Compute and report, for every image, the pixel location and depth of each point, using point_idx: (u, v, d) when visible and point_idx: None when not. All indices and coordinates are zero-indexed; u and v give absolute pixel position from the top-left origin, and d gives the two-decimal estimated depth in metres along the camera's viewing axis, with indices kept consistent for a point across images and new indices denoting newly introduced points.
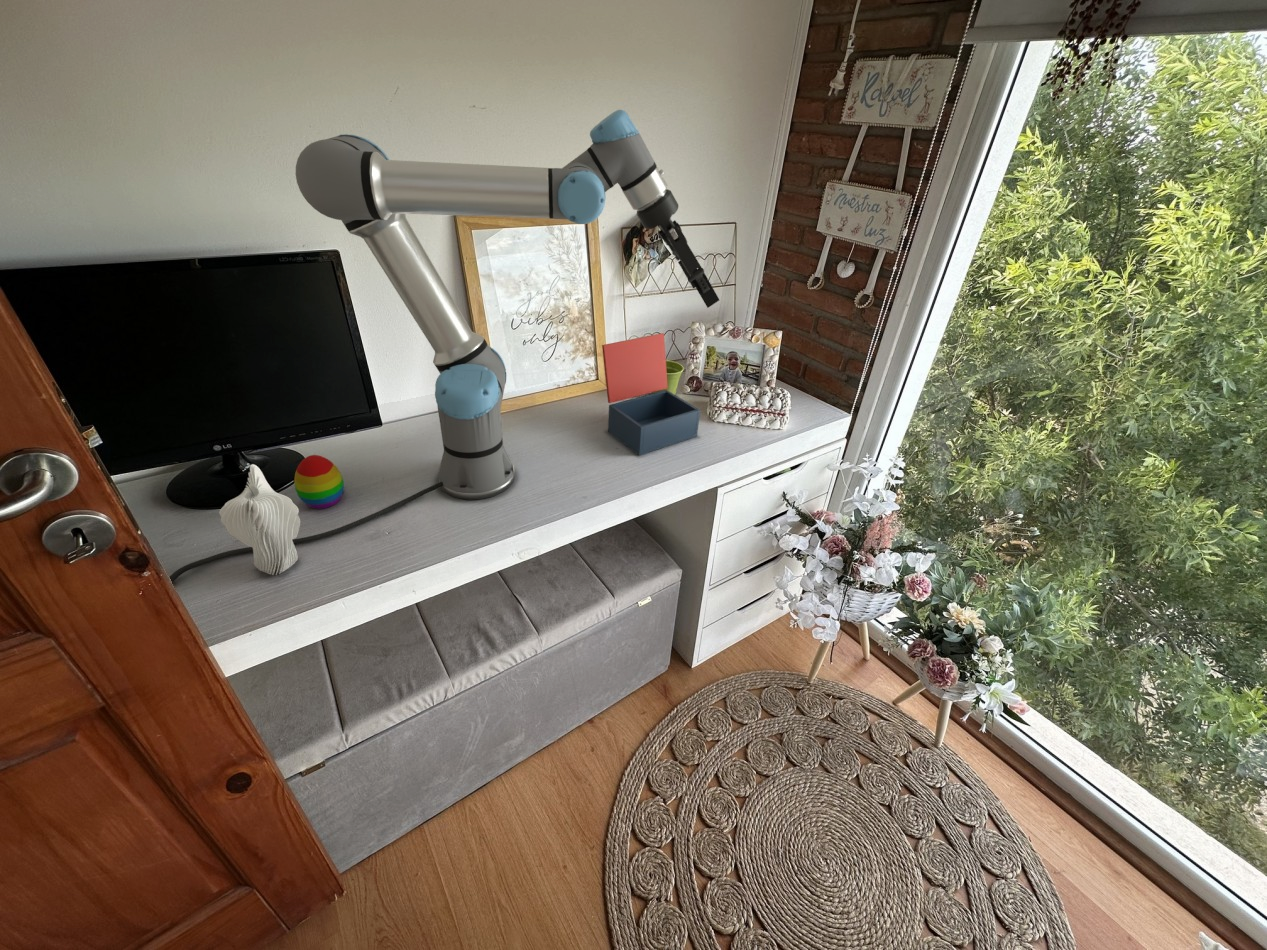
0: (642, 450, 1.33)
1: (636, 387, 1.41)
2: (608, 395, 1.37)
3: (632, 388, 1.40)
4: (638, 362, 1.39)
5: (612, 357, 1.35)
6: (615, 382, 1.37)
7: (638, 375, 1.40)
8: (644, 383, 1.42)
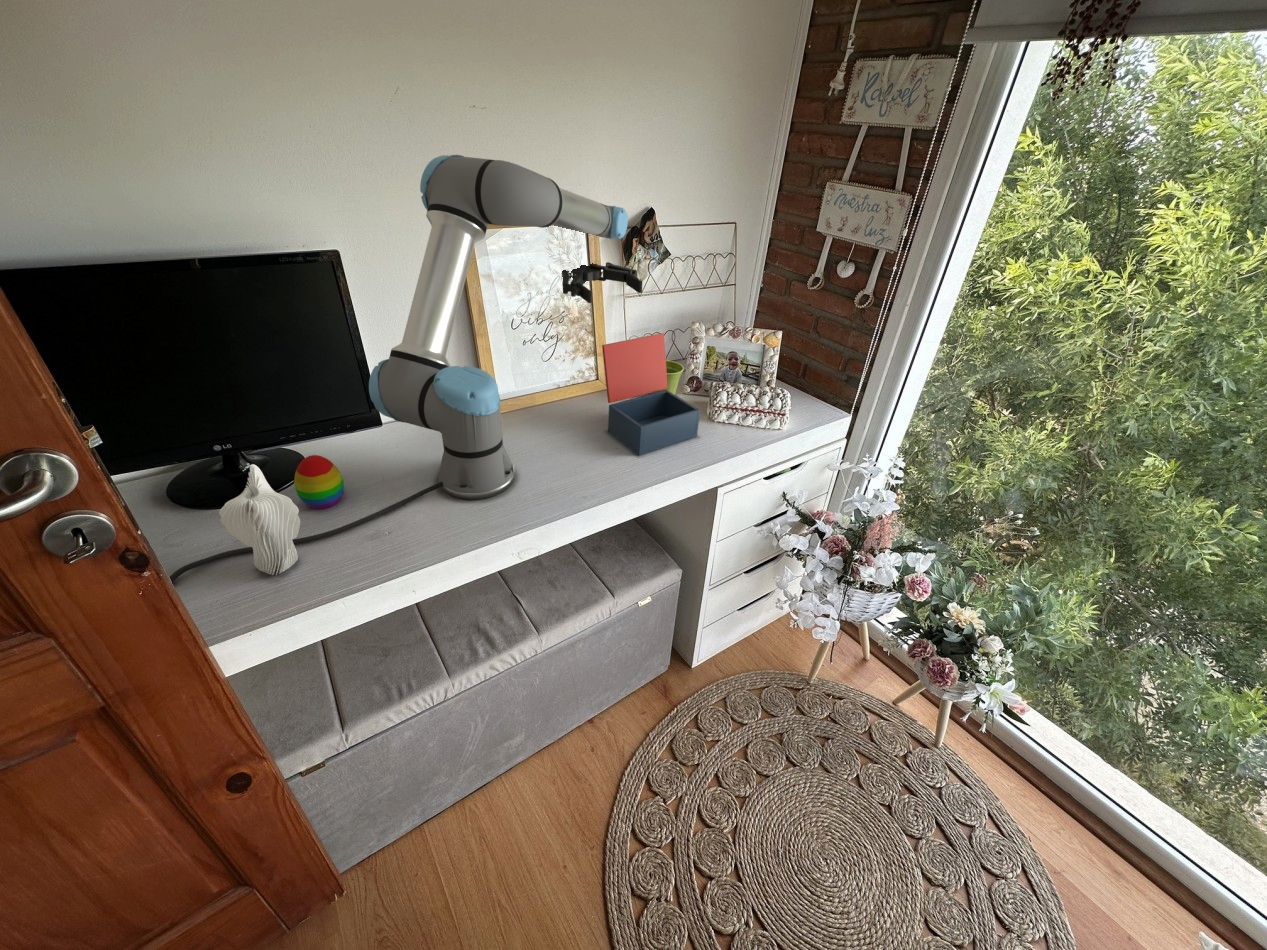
0: (642, 450, 1.33)
1: (636, 387, 1.41)
2: (608, 395, 1.37)
3: (632, 388, 1.40)
4: (638, 362, 1.39)
5: (612, 357, 1.35)
6: (615, 382, 1.37)
7: (638, 375, 1.40)
8: (644, 383, 1.42)
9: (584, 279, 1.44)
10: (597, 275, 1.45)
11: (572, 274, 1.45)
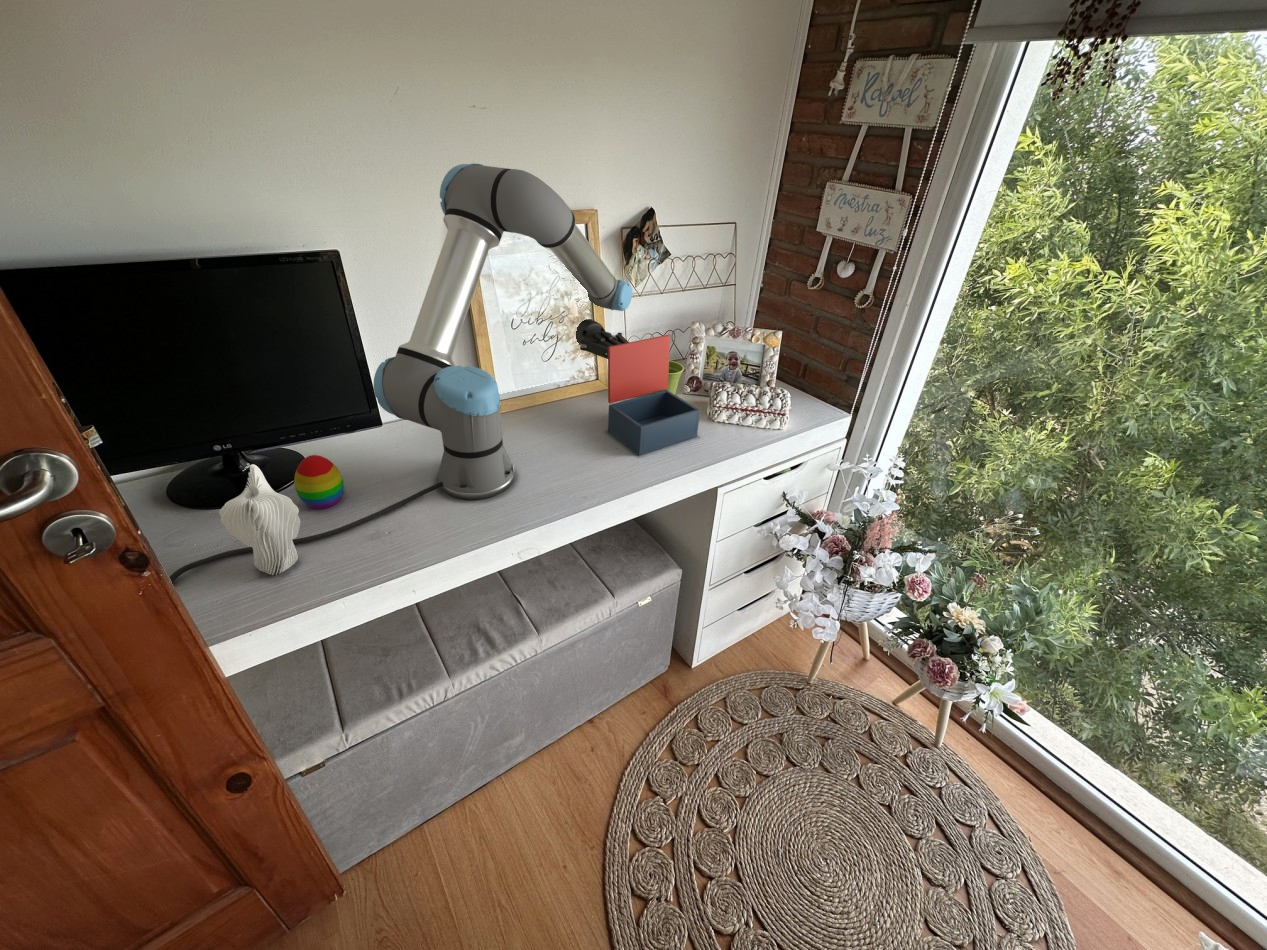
0: (642, 450, 1.33)
1: (637, 388, 1.41)
2: (609, 395, 1.37)
3: (633, 389, 1.40)
4: (642, 363, 1.38)
5: (617, 359, 1.33)
6: (617, 383, 1.36)
7: (640, 376, 1.39)
8: (645, 384, 1.42)
9: None
10: (609, 342, 1.49)
11: None
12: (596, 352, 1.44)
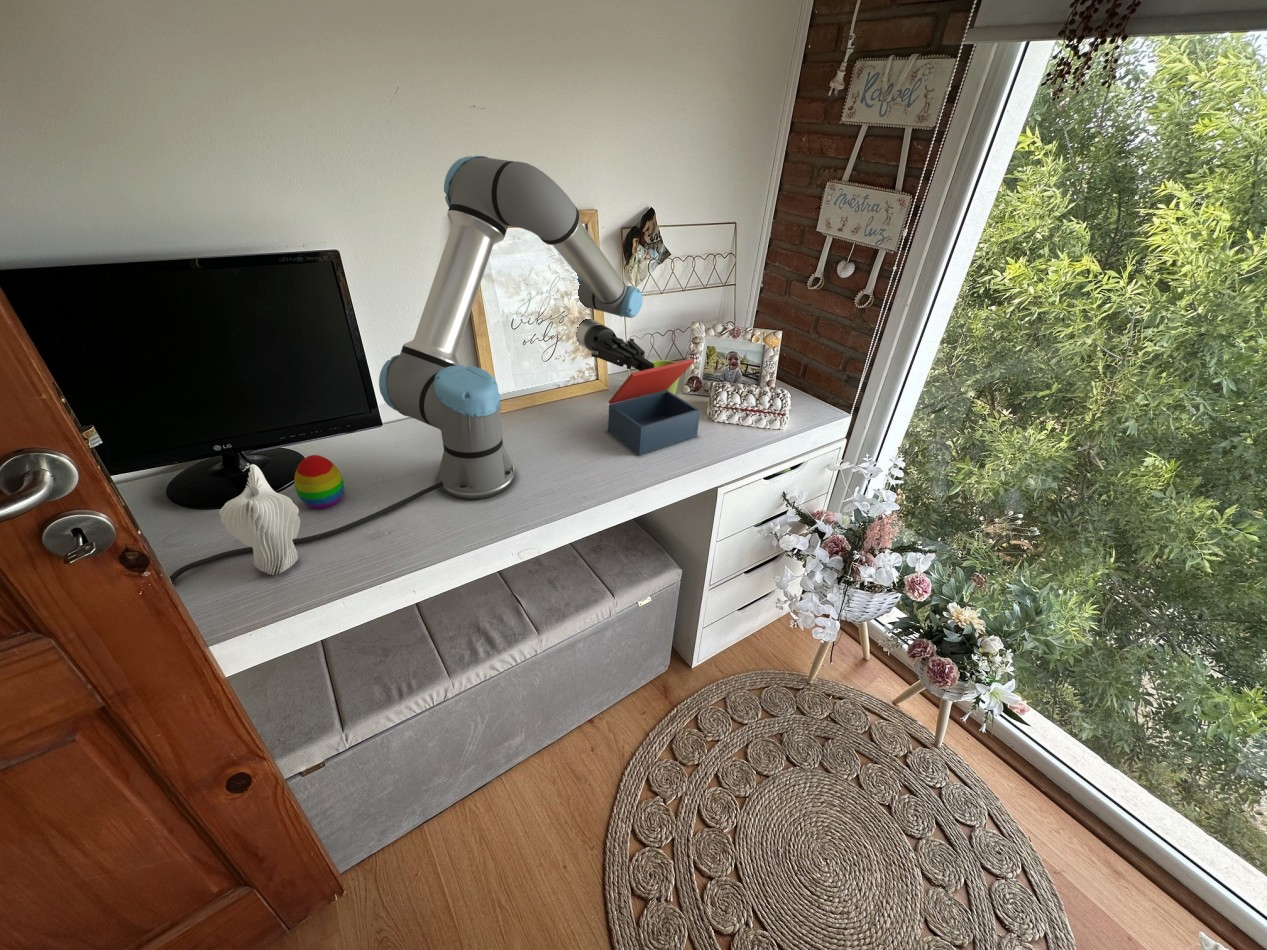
0: (642, 450, 1.33)
1: (640, 393, 1.40)
2: (612, 399, 1.36)
3: (636, 394, 1.39)
4: (655, 380, 1.36)
5: (634, 381, 1.30)
6: (624, 393, 1.35)
7: (648, 386, 1.38)
8: (649, 390, 1.41)
9: None
10: None
11: None
12: (608, 359, 1.41)
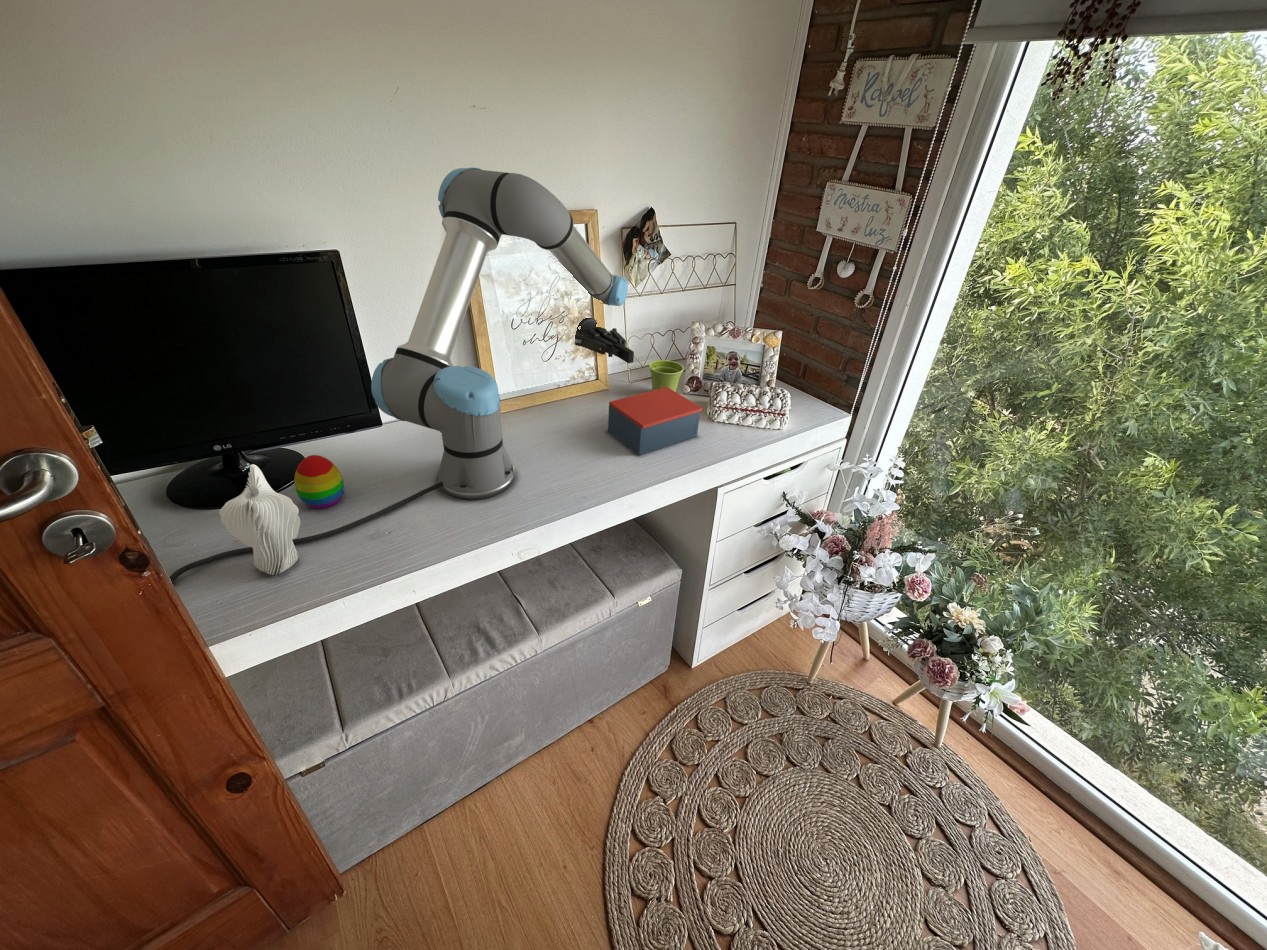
0: (642, 450, 1.33)
1: None
2: (613, 406, 1.37)
3: None
4: None
5: None
6: None
7: None
8: None
9: None
10: (603, 338, 1.50)
11: None
12: (590, 347, 1.46)
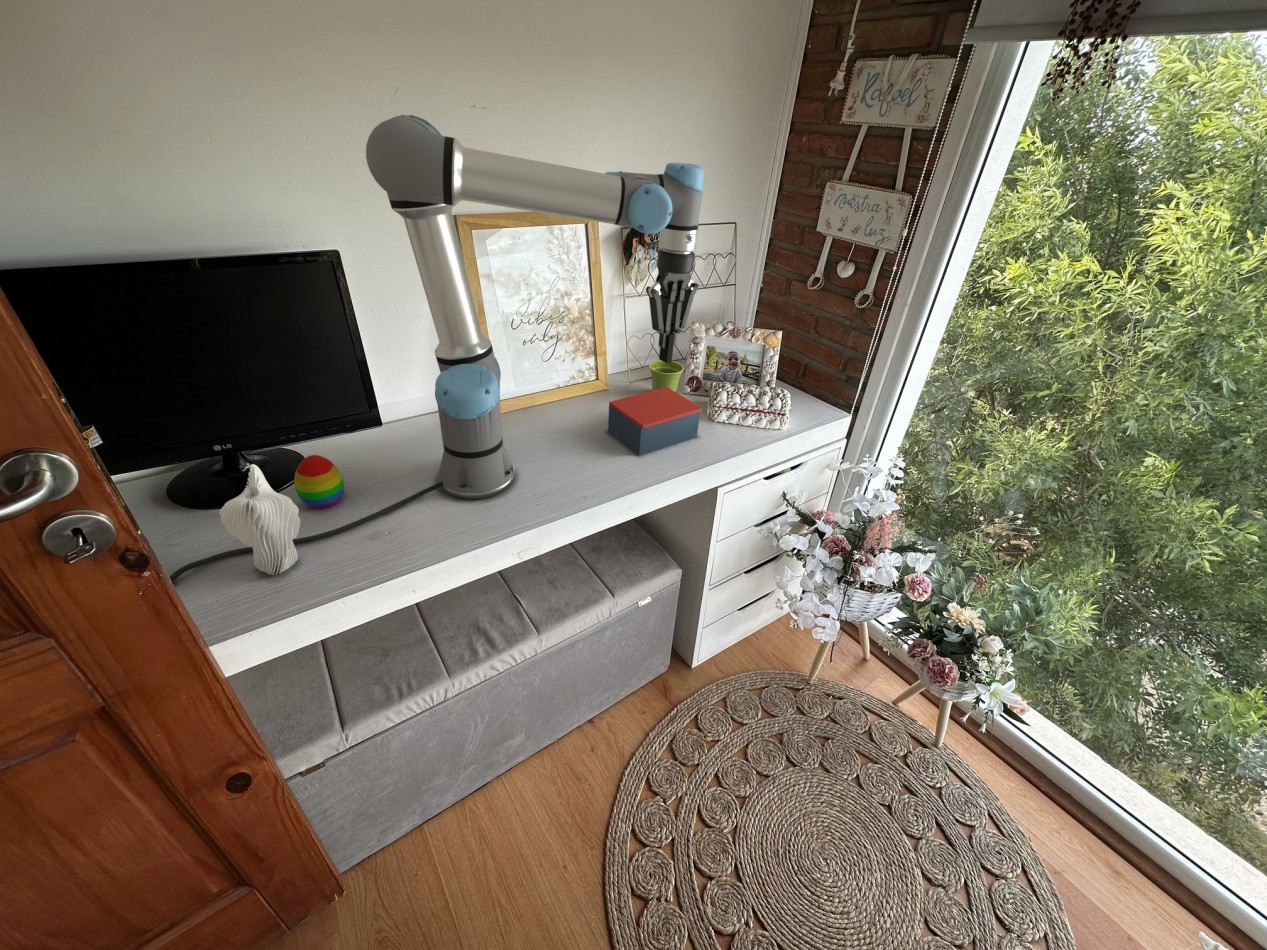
0: (642, 450, 1.33)
1: None
2: (613, 406, 1.37)
3: None
4: None
5: None
6: None
7: None
8: None
9: None
10: None
11: None
12: None
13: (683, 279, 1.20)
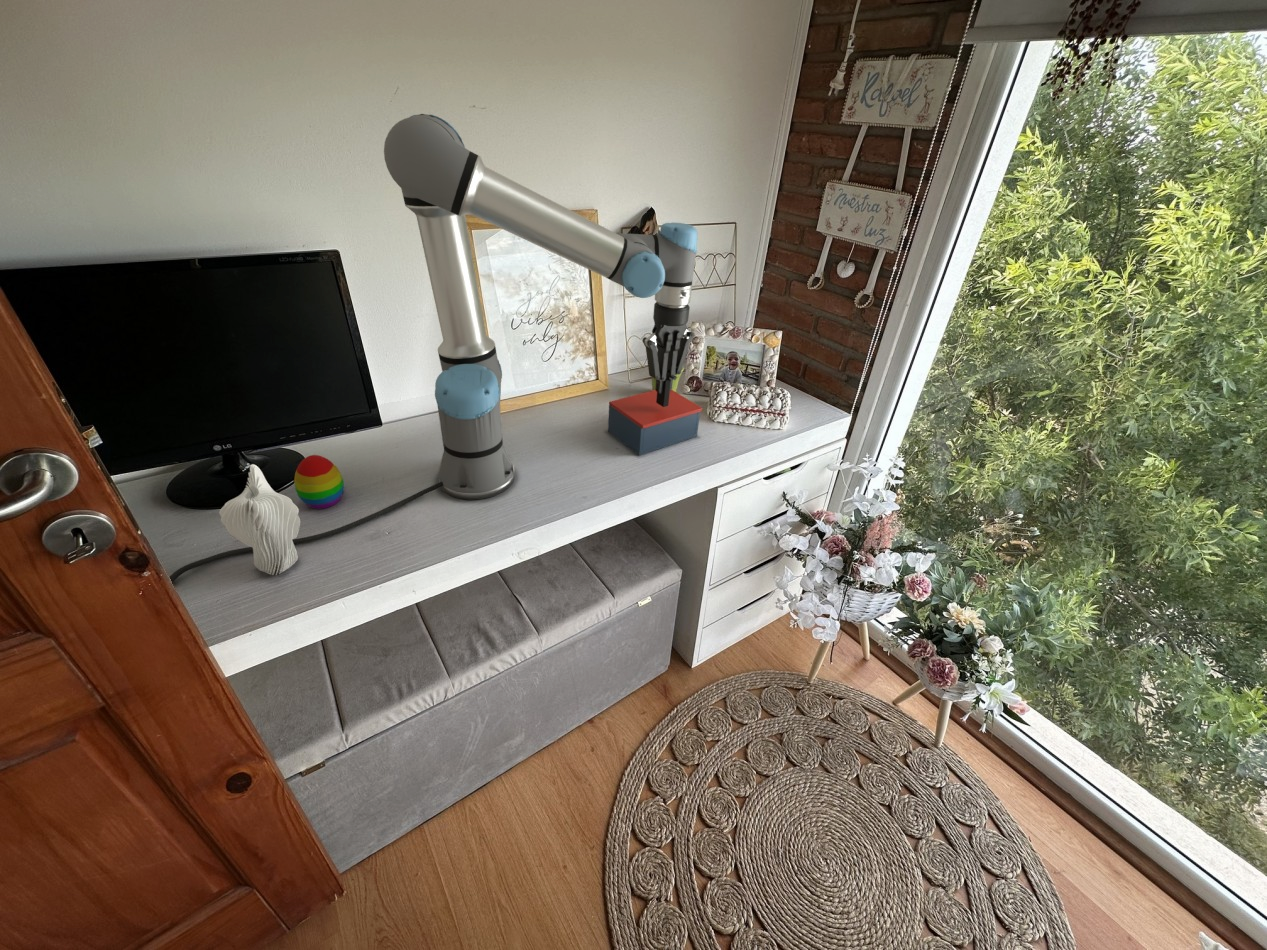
0: (642, 450, 1.33)
1: None
2: (613, 406, 1.37)
3: None
4: None
5: None
6: None
7: None
8: None
9: None
10: None
11: None
12: None
13: (678, 330, 1.25)
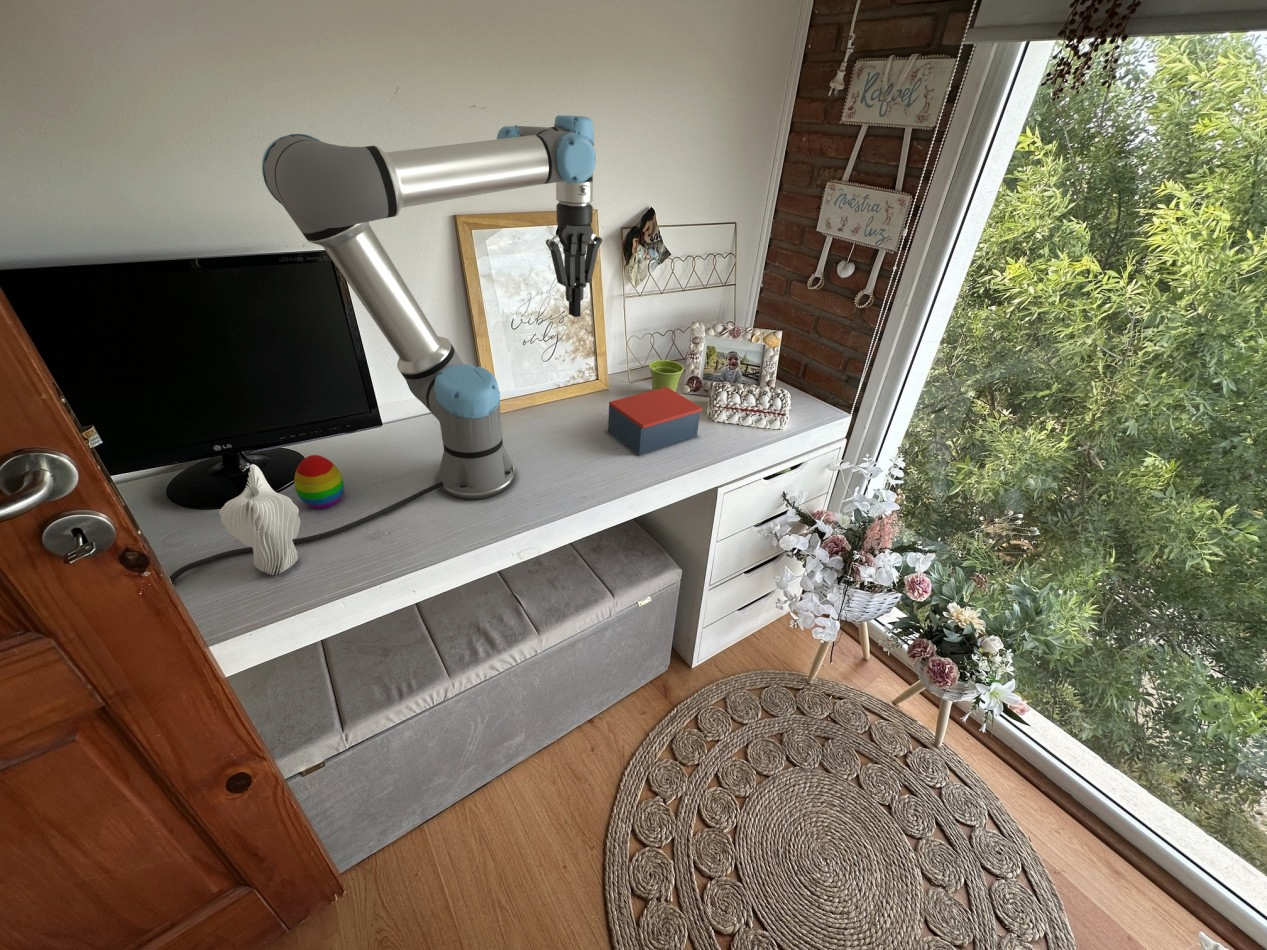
0: (642, 450, 1.33)
1: None
2: (613, 406, 1.37)
3: None
4: None
5: None
6: None
7: None
8: None
9: None
10: None
11: None
12: None
13: (583, 233, 1.23)
